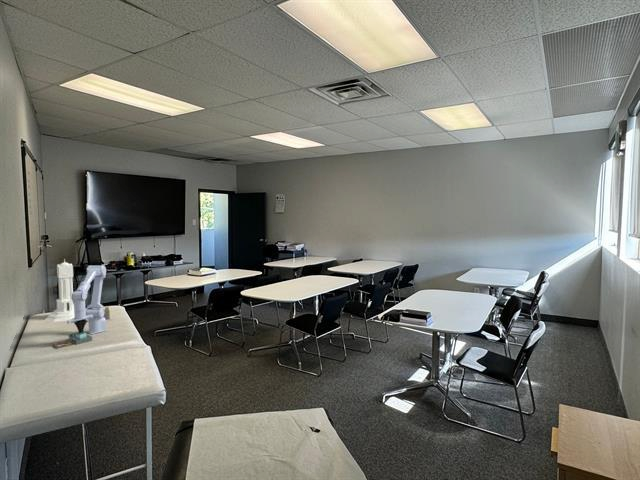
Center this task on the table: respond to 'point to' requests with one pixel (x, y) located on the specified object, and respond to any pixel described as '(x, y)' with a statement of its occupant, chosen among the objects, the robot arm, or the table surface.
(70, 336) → the port
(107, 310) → the ruin model on sheet
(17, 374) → the table surface
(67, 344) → the brown square frame
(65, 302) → the white castle tower
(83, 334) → the plug
